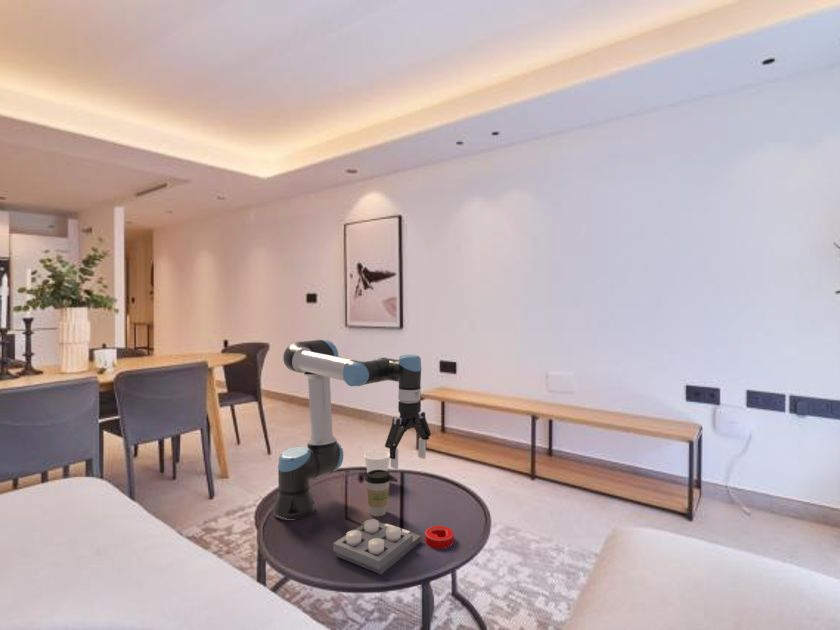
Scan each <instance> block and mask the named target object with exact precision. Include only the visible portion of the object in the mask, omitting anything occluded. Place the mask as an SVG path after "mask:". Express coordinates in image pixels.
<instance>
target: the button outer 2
mask: <svg viewBox="0 0 840 630" xmlns="http://www.w3.org/2000/svg"><path fill="white" fill-rule="evenodd" d="M400 528H401V527H399V526H395V525H392V526H391V527H388V528H387V529H386V540H388V541H391V542H394V543H396V542H397V541H399V540H400V539H401V529H400Z"/></svg>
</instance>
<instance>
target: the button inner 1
mask: <svg viewBox="0 0 840 630" xmlns="http://www.w3.org/2000/svg"><path fill="white" fill-rule="evenodd" d="M345 534H346V535H345V536H346V544H347V545H350V546H352V547H356V546H358V545H359V544H361V532H360V531H357V530H355V529H352V530H349V531H347V532H346V533H345Z"/></svg>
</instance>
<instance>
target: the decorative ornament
mask: <svg viewBox="0 0 840 630" xmlns="http://www.w3.org/2000/svg"><path fill="white" fill-rule="evenodd" d="M454 537H455V535H454V531H453V530H452V529H451V528H449V527H447V526H443V525H441V526H440V525H436V526H435V525H434V526H430V527H428V528H427V529H426V531H425V533H424V543H425V544H426V545H427V546H428V547H430V548H433V549H438V550H439V549H440V550H441V549H442V548H444V549H446V548H445V547H448V546H450V545H451V544H452V543H453V541H455V540H454V539H455V538H454ZM453 544H454V543H453ZM450 547H451V546H450ZM448 548H449V547H448ZM442 550H443V549H442Z"/></svg>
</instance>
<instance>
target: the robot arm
mask: <svg viewBox="0 0 840 630" xmlns="http://www.w3.org/2000/svg"><path fill="white" fill-rule="evenodd" d="M282 357H283V358H282V360H283V363H284V365H285V367H286V368H287V369H289V371H292V372H295V373H299V374H303V375H304V376H305V377H306V378H307V380H308V381H307V382H308V383H307V385H308V401H309V419H310V420H309V422H310V423H309V424H310V438H309V439H308V440H307V443H306V444H307V446H303V445H302V446H296V447H295V446H293V447H291V448H288V449H285V450H284V451H283V452H281V453H280V455H279V457H278V464H277V468H278V472H277V473H278V477H277V478H278V479H277V480H278V491H277V496H276V501H275V504H274V505H273V512H274V511H275V513H276V514H277V515H279V516H281V517H284V518H287V519H299V520H302V519H301V518H303V519H306V518H308V517H310V516H311V515H312V514H314V512H315V507H316V505H315V501H314V498H313V495H312V492H311V480H314V479H317V478H320V477H322V476H325V475H329V474H331V473H333V472H335V471H337V470H338V469H339V468H340V467H341V466H342V464H343V461H344V449H343V448H342V446H341V444H340V443H339V441H338V442H337V437H335V436H334V434H333V418H332V417H333V416H332V396H331V393H332V392H331V378H332V379H336V380H340V381H343V382H345V384H347V386H349V387H362V386H365V385H370V384H374V383H375V384H376V383H379V382H381V383H382V382H386V381H389V382H390V381H391V382H392V381H393V382H397V383H398V400H399V401H398V402H397V403H398V404H397V405H398V411H397V412H399V417H393V418H392V421H391V426H390V430H389V432H388V435H387V438H386V442H385V443H384V447H385V448H387V449H389V453H390V468H393V469H395V470H398V469H399V448H398V446H399V444H400V442H401V440H402V438H403V437H404V435H405V432H407V431H408V430H410V429H414V430H415V431H416V433H417V435H418V436H419V438H418V452H417V453H418V458H421V459H424V460H425V459H426V457H427V456H426V455H427V454H426V453H427V452H426V451H427V441H429V439H430V437H431V435H432V433H431V430H430V426H429V425H428V421H427V419H426V412H425V411H421V392H422V391H421V389H422V388H421V384H422V383H421V379H422V370H423V369H422V359H421V357H420V356H419V355H416V354H401V355H399V357H398V359H394V358H387V357H377V358H375V359H374V360H367V361H359V360H356V359H355V360H354V359H349V358H345V357H342V356H341V357H340V356H339V351H338V348H337V346H336V345H335V344H334V342H332V341H331V340H328V339H316V340H305V341H302V340H301V341H296V342H293V343H291V344H289V345H288V346H287V347H286V348H285V350H284V351H283V356H282Z"/></svg>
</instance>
